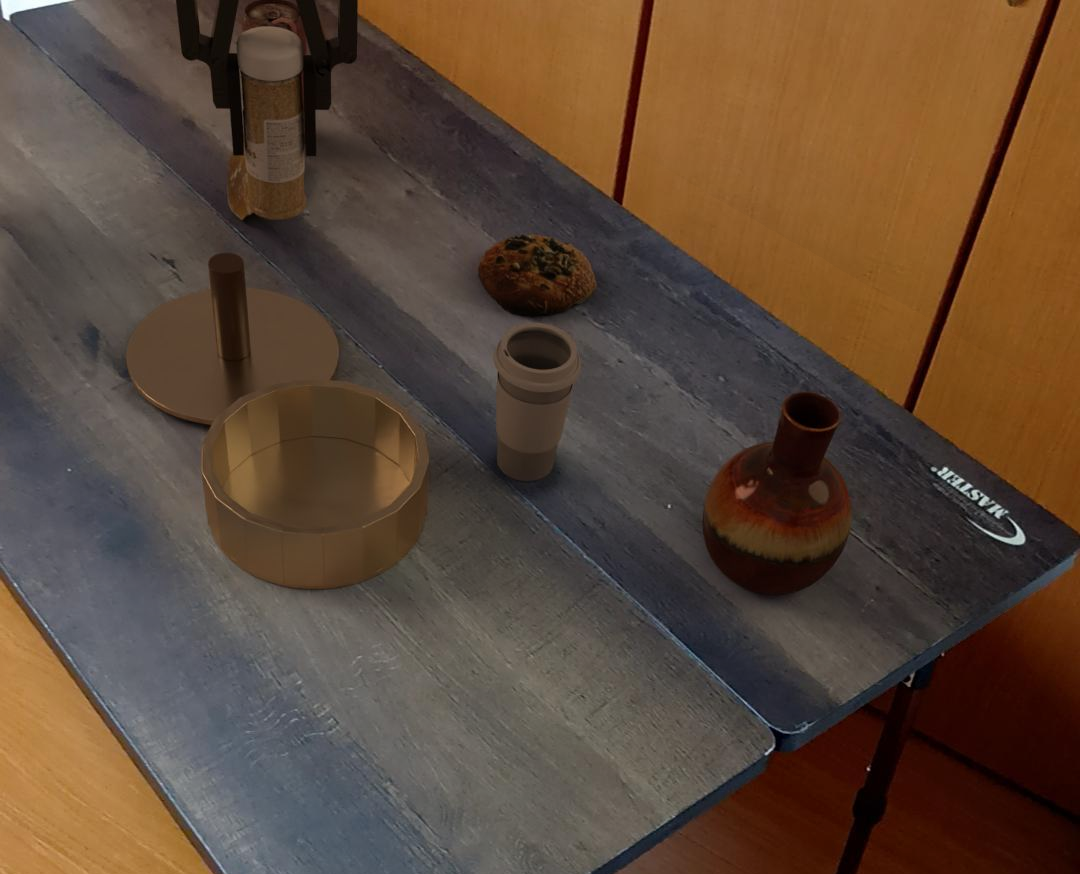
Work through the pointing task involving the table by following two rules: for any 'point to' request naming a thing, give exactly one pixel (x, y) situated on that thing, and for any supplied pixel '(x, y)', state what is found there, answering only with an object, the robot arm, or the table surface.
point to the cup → (532, 397)
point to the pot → (315, 483)
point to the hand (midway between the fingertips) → (274, 145)
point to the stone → (238, 186)
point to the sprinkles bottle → (273, 120)
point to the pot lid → (226, 345)
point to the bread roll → (536, 275)
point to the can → (275, 21)
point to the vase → (781, 504)
